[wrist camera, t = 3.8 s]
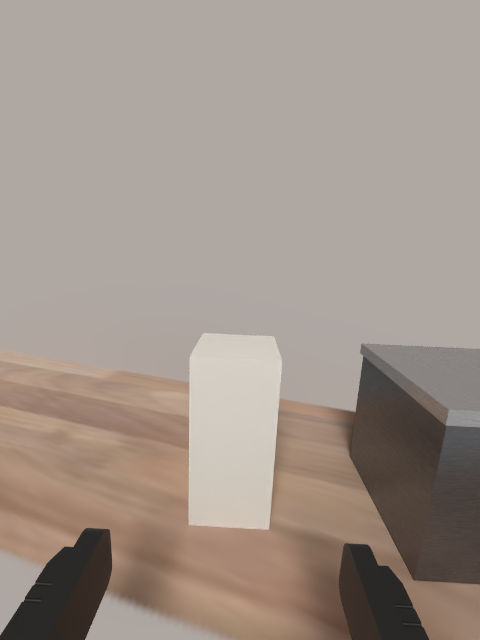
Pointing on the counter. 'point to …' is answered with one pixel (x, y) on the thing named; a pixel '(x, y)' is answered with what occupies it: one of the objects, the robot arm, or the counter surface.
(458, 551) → the block
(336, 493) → the counter surface
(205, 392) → the cream block
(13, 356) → the counter surface
